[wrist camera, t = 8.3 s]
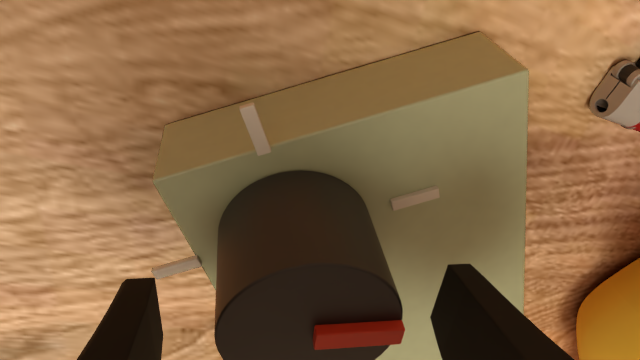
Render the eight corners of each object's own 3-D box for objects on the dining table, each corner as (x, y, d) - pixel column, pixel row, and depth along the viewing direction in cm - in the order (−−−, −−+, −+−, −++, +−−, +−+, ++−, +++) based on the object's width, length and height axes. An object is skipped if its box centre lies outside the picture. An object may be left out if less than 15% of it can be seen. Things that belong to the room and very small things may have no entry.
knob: (219, 288, 15) (216, 405, 12) (215, 169, 12) (211, 279, 9) (357, 281, 16) (388, 390, 13) (381, 169, 13) (426, 270, 10)
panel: (101, 99, 14) (73, 158, 11) (478, -14, 14) (534, 21, 11) (250, 353, 22) (253, 420, 19) (491, 284, 22) (525, 344, 19)
